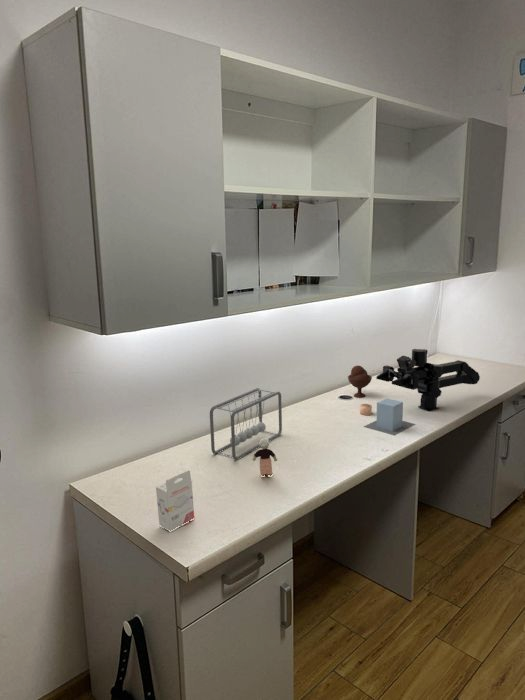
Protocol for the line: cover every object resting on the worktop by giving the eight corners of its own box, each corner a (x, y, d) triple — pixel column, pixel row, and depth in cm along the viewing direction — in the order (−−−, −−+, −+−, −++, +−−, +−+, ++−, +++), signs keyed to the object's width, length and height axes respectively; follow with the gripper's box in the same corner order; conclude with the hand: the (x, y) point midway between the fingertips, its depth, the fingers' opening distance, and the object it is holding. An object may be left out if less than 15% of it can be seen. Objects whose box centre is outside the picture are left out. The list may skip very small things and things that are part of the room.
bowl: (366, 412, 225) (366, 403, 224) (373, 415, 221) (374, 406, 220) (357, 414, 223) (357, 405, 222) (364, 417, 218) (365, 408, 218)
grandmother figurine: (275, 471, 170) (275, 435, 167) (278, 477, 166) (277, 439, 163) (252, 474, 169) (251, 437, 166) (254, 479, 165) (252, 441, 162)
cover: (386, 422, 211) (386, 398, 209) (402, 426, 206) (403, 402, 204) (376, 426, 206) (376, 402, 204) (392, 431, 201) (393, 406, 199)
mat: (385, 417, 218) (385, 416, 218) (415, 425, 208) (415, 424, 208) (363, 427, 207) (363, 426, 207) (394, 436, 197) (394, 435, 197)
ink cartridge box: (183, 514, 146) (179, 464, 142) (194, 520, 142) (191, 469, 139) (158, 527, 139) (154, 475, 136) (169, 533, 136) (166, 481, 133)
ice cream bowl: (371, 399, 241) (372, 368, 238) (347, 399, 243) (347, 367, 240) (371, 393, 251) (372, 362, 248) (348, 392, 253) (348, 362, 250)
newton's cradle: (260, 429, 208) (259, 386, 204) (282, 434, 202) (281, 390, 198) (211, 455, 184) (208, 407, 180) (234, 462, 178) (232, 412, 174)
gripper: (398, 351, 226) (369, 356, 219) (430, 360, 210) (400, 365, 202) (397, 376, 228) (369, 382, 221) (429, 386, 212) (399, 393, 205)
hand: (384, 380), depth 212 cm, fingers open, 9 cm apart
